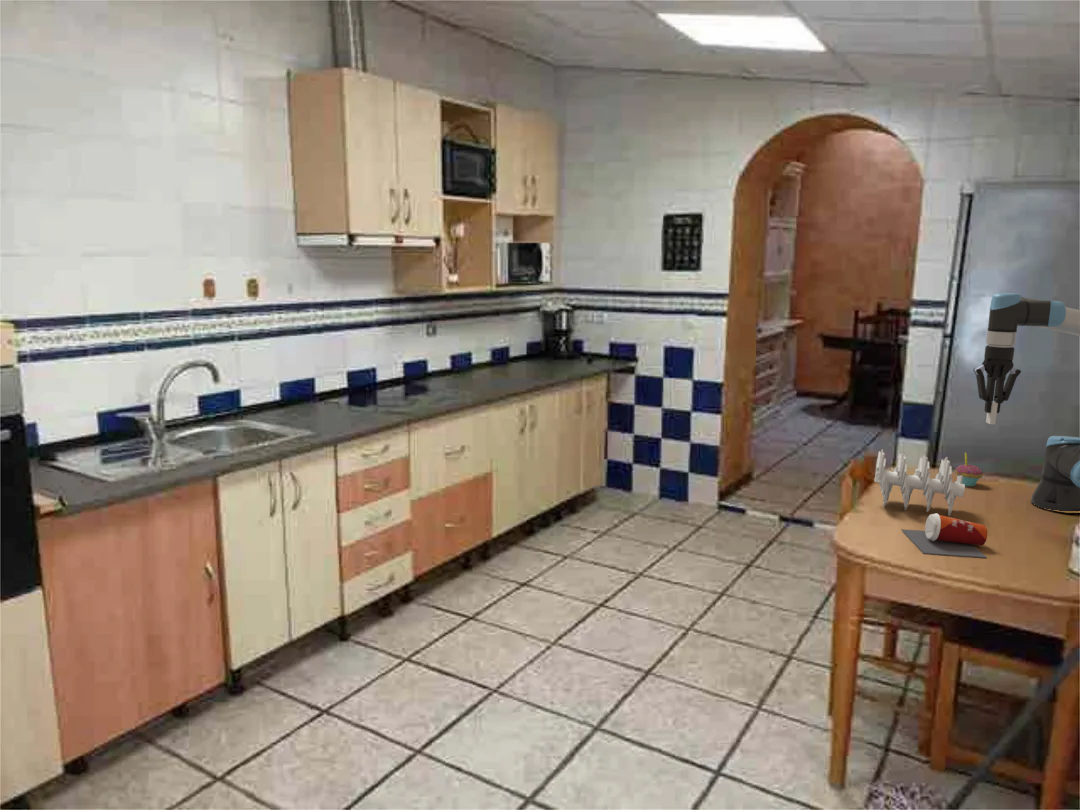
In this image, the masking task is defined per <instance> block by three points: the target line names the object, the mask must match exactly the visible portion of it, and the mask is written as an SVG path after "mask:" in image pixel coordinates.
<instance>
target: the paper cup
mask: <svg viewBox="0 0 1080 810" xmlns="http://www.w3.org/2000/svg"><path fill="white" fill-rule="evenodd" d="M924 531H925V534H926V537H927V538H928V539H931V540H932V541H935V540H938V541H946V542H954V543H963V544H971V545H973V546H985V544H986V542H987V539H988V527H986V525H984V524H980V523H976V522H972V521H968V520H962V519H958V518H955V517H951V516H945V515H941V514H939V513H931V514H929V515H928V517H927V519H926V521H925V526H924Z"/></svg>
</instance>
